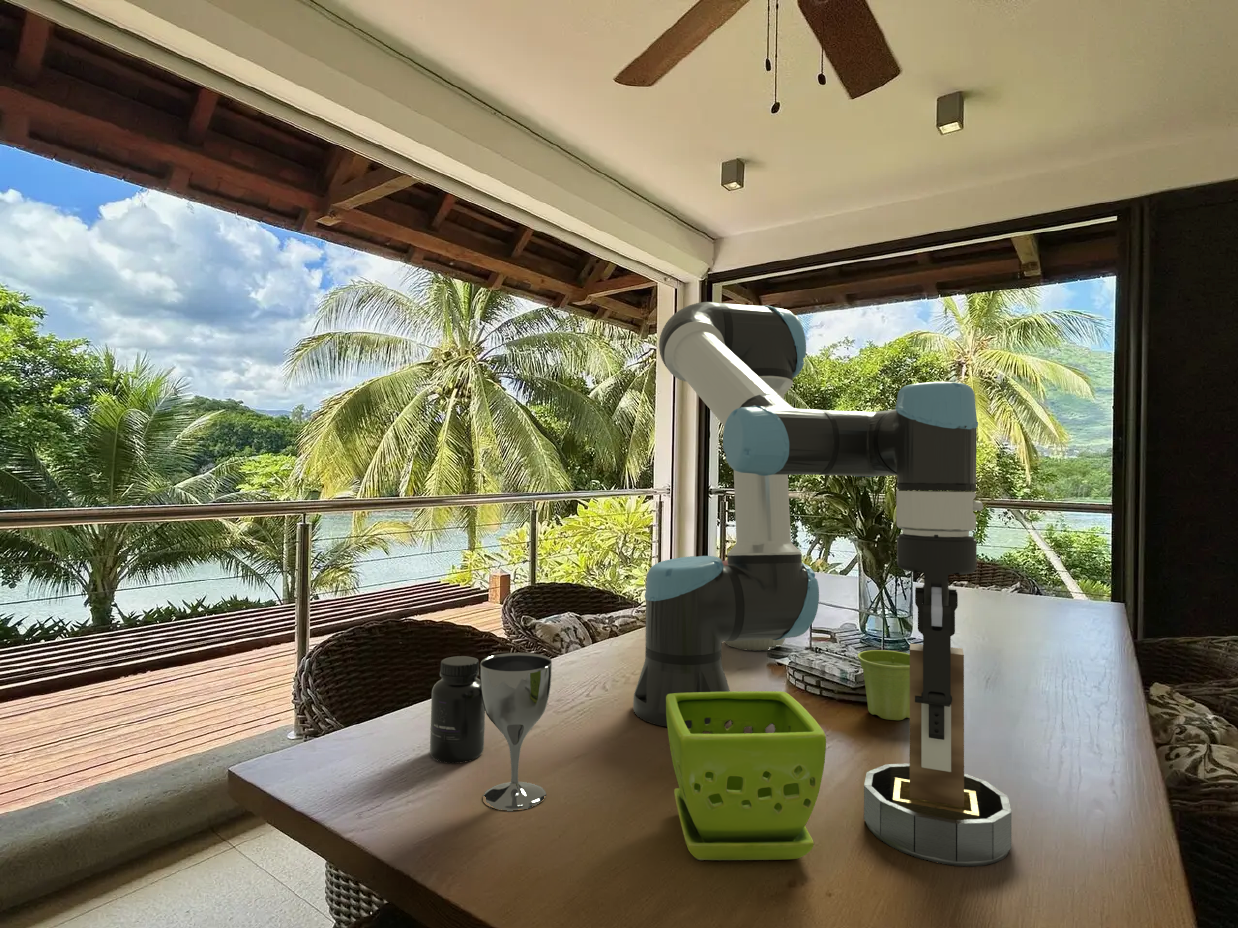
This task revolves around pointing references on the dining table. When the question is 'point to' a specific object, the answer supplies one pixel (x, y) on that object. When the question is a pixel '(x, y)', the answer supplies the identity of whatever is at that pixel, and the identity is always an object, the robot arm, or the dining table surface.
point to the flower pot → (745, 773)
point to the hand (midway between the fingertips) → (935, 760)
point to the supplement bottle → (457, 712)
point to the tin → (938, 819)
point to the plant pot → (887, 683)
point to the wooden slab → (951, 783)
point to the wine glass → (515, 716)
